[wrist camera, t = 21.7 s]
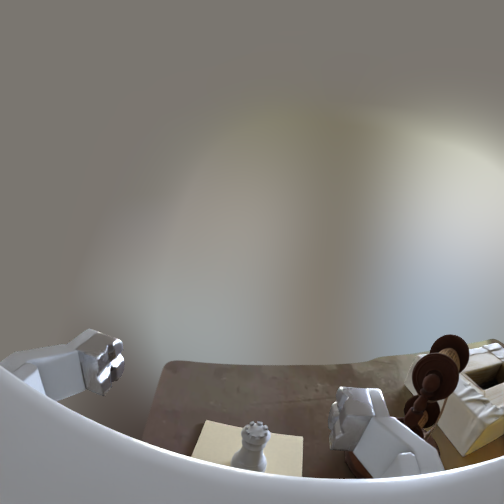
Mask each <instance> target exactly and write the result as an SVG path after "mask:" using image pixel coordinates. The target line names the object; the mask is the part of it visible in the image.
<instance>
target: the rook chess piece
mask: <svg viewBox="0 0 504 504" xmlns="http://www.w3.org/2000/svg"><path fill="white" fill-rule="evenodd" d="M241 436H242V440H241V441H242V447H241V449H240V450H238V451H237V452H236V453H235V454H234V455H233V457H232V460H231V462H230V464H231V467H234V468H239V469H245V470H250V471H256V472H263V473H264V472H265V470H266V465H267V461H266V457H265V456H264V454H263V449H264V448H265V446H266V442H268V441H269V440H270V437H271V435H270V432H269V431H268V427H267V425H264V426H263V425H262V422H259V421H258V424H254V421H252V422H250V424H249V425H246V426H245V427H244V428H243V429H242V431H241Z"/></svg>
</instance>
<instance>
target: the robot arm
mask: <svg viewBox="0 0 504 504" xmlns="http://www.w3.org/2000/svg"><path fill="white" fill-rule="evenodd" d="M122 350H123V344H122V341H120V340H119V339H116V338H114V337H111V336H108V335H106V334H103V333H100V332H98V331H95V330H92V329H87V330H85V331H84V332H82V333H81V334H80V335H79V336H77V337H76V338H74V339H73V340H72V341H71V342H69V343H68V344H66V345H64V344H60V345H54V346H48V347H42V348H37V349H30V350H24V351H17V352H14V353H12V354H11V355H10V356H8V357H7V358H5V359H4V360H3V361H1V362H0V504H504V456H502V457H499V458H496V459H492V460H489V461H485V462H481V463H478V464H474V465H469V466H465V467H461V468H456V469H451V470H446V471H445V470H444V467H443V465H442V462H441V460H440V457H439V455H438V452H437V450H436V449H435V448H434V447H433V446H431V445H430V444H429V443H427V442H426V441H425V440H423V439H422V438H421V437H419V436H418V435H417V434H415V433H414V432H413V431H411V430H410V429H409V428H407V427H406V426H405V425H403V424H402V423H401V422H400V421H398V420H397V419H396V418H394V417H390V415H389V412H388V410H387V407H386V404H385V401H384V398H383V395H382V393H381V390H380V389H374V388H366V389H363V388H350V387H340V388H339V389H338V391H337V394H336V400H337V401H336V402H335V403H333V404H332V406H331V409H330V412H329V417H328V428H329V429H330V430H331V434H330V436H329V441H330V450H340V451H353V453H354V455H355V456H356V457H357V458H358V460H359V461H360V462H361V463H362V464H363V466H364V467H365V468H366V469H367V471H368V472H369V473H370V474H371V475H372V477H373V478H374V479H324V478H307V477H295V476H285V475H277V474H270V473H263V472H256V471H250V470H245V469H239V468H234V467H229V466H225V465H220V464H216V463H212V462H208V461H204V460H200V459H196V458H192V457H189V456H185V455H182V454H178V453H175V452H172V451H168V450H165V449H162V448H159V447H156V446H153V445H151V444H148V443H145V442H142V441H140V440H137V439H134V438H132V437H129V436H127V435H124V434H122V433H119V432H117V431H115V430H112V429H110V428H108V427H105V426H103V425H101V424H99V423H97V422H94V421H92V420H90V419H88V418H86V417H84V416H82V415H80V414H78V413H76V412H74V411H72V410H70V409H69V408H67V407H65V406H63V405H61V404H59V403H58V402H56V401H59V400H62V399H64V398H67V397H69V396H72V395H74V394H77V393H79V392H82V391H84V390H86V389H87V390H89V391H92V392H94V393H97V394H99V395H102V396H104V395H105V394H106V393H107V392H108V391H109V390H110V389H111V388H112V382H114V381H117V380H118V379H119V378H120V377H121V376H122V373H123V371H124V358H123V357H122V355H121V354H120V353H121V351H122Z"/></svg>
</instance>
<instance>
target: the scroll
mask: <svg viewBox="0 0 504 504" xmlns="http://www.w3.org/2000/svg"><path fill="white" fill-rule="evenodd" d="M468 361H469V348H468V345H467V344H466V342H465V341H464V340H463V339H462V338H461V337H459V336H456V335H444V336H442V337H440V338H439V339H437V340H436V341H435V343H434V344H433V345H432V347H431V350H430V354H428V355H425V356H424V357H422V358H421V359H420V360H419V361H418V362H417V363H416V365H415V366H414V369H413V372H412V383H413V386H414V388H415V390H416V392H417V394H418V395H415V396H413V397H411V398H410V399H409V400H408V401H407V403H406V404H405V408H404V414H405V417H404V418H396V419H397V420H398V421H400V422H401V423H402V424H403V425H405V426H406V427H407V428H409V429H410V430H411V431H413V432H414V433H415V434H417V435H418V436H419V437H421V438H422V439H423V440H425V441H426V442H427V443H429V444H430V445H431V446H433V447H434V448H435V449H436V450H437V452H438V455H439V457H440V452H439V448H438V446H437V444H436V442H435V440H434V439H433V438H432V436H431V433H432V431H433V430H434V428H435V426H436V425H437V423H438V421H439V419H440V418H441V415H442V413H443V411H444V408H445V405H446V403H447V400H448V397H449V396H450V395H451V394H452V393H453V392H454V390H455V389H456V387H457V385H458V382H459V373H461V372H462V371H463V370H464V369H465V367H466V366H467V364H468ZM443 399H445V400H444V403H443V406H442V409H441V411H440V406H439V404H438V402H437V401H439V400H443ZM433 424H435V425H434V427H433V428H432V429H431V430H430V431H428V432H426V431H425V430H424V429H423V428H427V427H430V426H432V425H433ZM345 463H347V464H348V466H349V468H350V469H351V471H352V472H353V474H354V475H355V476H356V477H357V478H358V479H374V478H373V477H372V475H371V474H370V473H369V472H368V471H367V469H366V468H365V467H364V466H363V464H362V463H361V462H360V461H359V460H358V458H357V457H356V456H355V455H354V453H353V451H345Z"/></svg>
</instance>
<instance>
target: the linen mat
mask: <svg viewBox="0 0 504 504" xmlns="http://www.w3.org/2000/svg"><path fill="white" fill-rule="evenodd" d="M242 429H243V428H240V427H235V426H230V425H225V424H221V423H216V422H212V421H208V420H206V422H205V424H204V427H203V429H202V432H201V434H200V437H199V439H198V442H197V444H196V446H195V449H194V451H193V454H192V456H191V457H192V458H196V459H200V460H204V461H208V462H212V463H216V464H220V465H225V466H229V467H231V464H230V462H231V460H232V457H233V455H234V454H235V453H236V452H237V451H238V450H240V449H241V447H242V441H241V440H242V436H241V431H242ZM270 435H271V437H270V440H269V441H268V442H266V446H265V448H264V449H263V454H264V456H265V457H266V461H267V465H266V470H265V472H264V473H270V474H277V475H285V476H295V477H302V455H303V437H298V436H289V435H282V434H275V433H270Z"/></svg>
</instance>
